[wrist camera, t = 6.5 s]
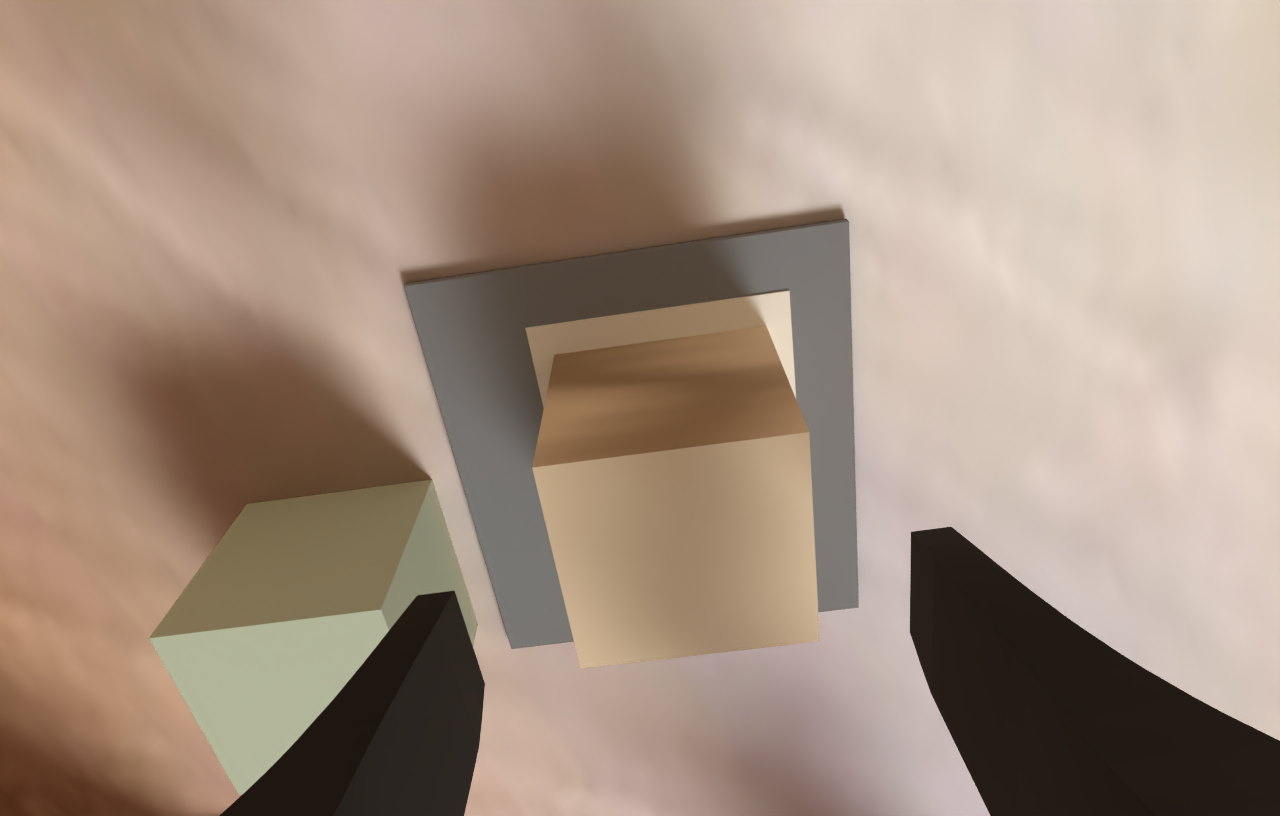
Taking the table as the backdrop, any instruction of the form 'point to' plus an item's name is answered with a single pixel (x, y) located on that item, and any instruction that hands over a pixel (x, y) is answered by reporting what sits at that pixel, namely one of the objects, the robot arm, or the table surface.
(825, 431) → the slate mat
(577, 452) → the beech block
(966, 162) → the table surface
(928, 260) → the table surface
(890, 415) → the table surface
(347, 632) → the sage block
